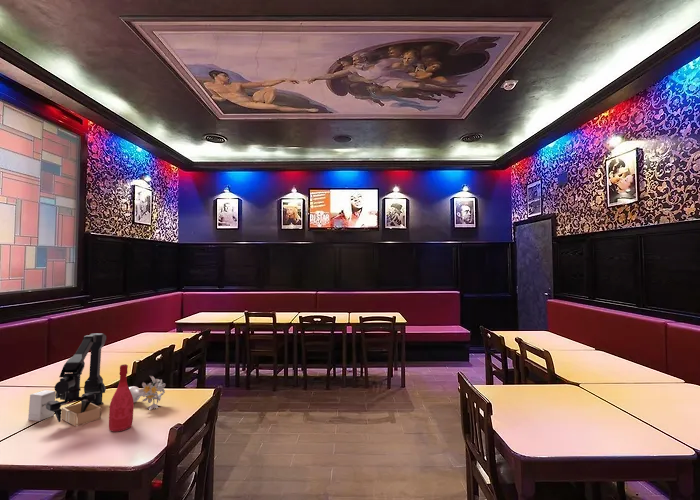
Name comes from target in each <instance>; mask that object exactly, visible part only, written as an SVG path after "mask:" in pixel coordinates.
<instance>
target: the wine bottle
mask: <svg viewBox="0 0 700 500" xmlns="http://www.w3.org/2000/svg"><path fill="white" fill-rule="evenodd" d="M128 367H129V366H128V365H127V364H121V365H119V383H118V386H117V388H116V390H115V392H114V394H113V396H112V398H111V400H110V404H109V409H108V411H109V412H108V414H109V415H108V429H109V431H110V432H115V433H117V432H123V431H126V430H129V429H130V428H131V427H132V426H133V422H134V421H133V420H134V410H135V409H134V408H135V407H134V406H135V405H134V404H135V403H134V401H133V397H132V394H131V392H130V390H129V387H130V386H129V385H128V381H127V374H128Z"/></svg>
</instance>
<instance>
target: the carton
mask: <svg viewBox="0 0 700 500" xmlns="http://www.w3.org/2000/svg"><path fill="white" fill-rule="evenodd" d="M81 406H82V403H81V402H78V403H76V404H70V405H67V406H64V407H63V408H66V409H68V410H70V411H72V412H74V413H76V414H77V425H76V426H77V427H78V426H82V425H84V424H87V423H92V422H94V421H97V420H101V419H102V407H101V406H99V405H95V404H92V403H90V404H89V405H88V407H87V408H86V410H85V412H83V413H81Z"/></svg>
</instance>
